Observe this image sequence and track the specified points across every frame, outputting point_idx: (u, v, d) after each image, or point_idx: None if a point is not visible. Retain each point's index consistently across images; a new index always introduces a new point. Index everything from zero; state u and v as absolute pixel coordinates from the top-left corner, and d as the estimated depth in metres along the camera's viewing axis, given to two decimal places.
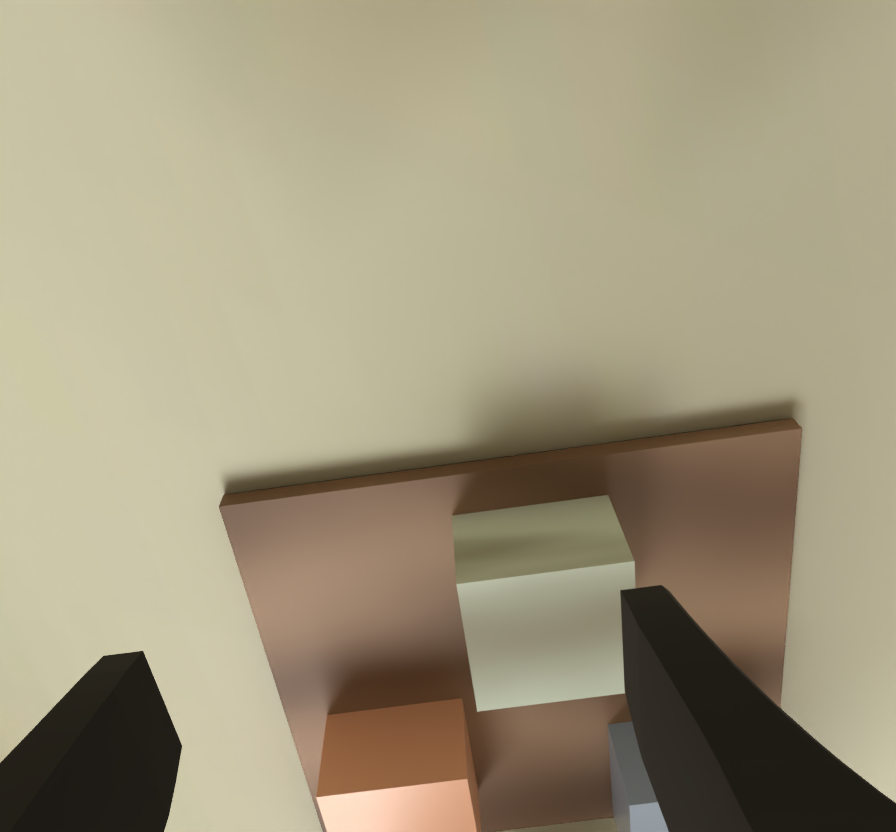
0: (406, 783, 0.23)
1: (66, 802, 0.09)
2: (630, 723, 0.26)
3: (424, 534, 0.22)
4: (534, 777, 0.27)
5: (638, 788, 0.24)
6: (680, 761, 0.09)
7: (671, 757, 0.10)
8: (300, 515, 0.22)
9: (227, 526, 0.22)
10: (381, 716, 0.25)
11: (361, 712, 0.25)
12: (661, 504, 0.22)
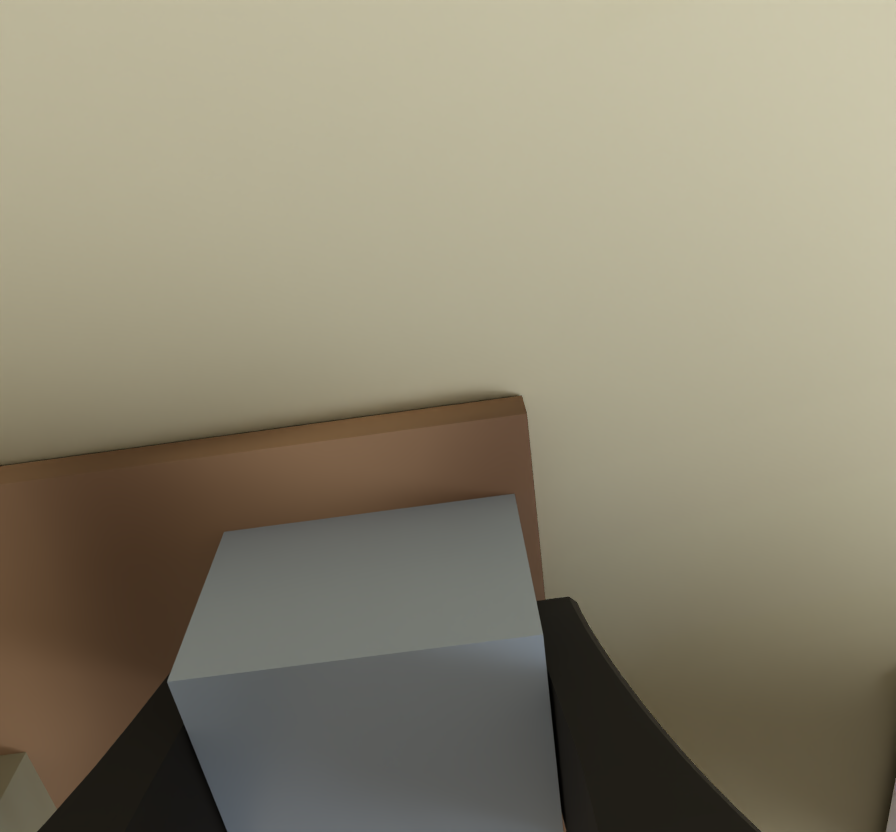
0: None
1: (176, 789, 0.09)
2: None
3: None
4: None
5: None
6: (568, 774, 0.09)
7: (563, 770, 0.10)
8: None
9: None
10: None
11: None
12: None
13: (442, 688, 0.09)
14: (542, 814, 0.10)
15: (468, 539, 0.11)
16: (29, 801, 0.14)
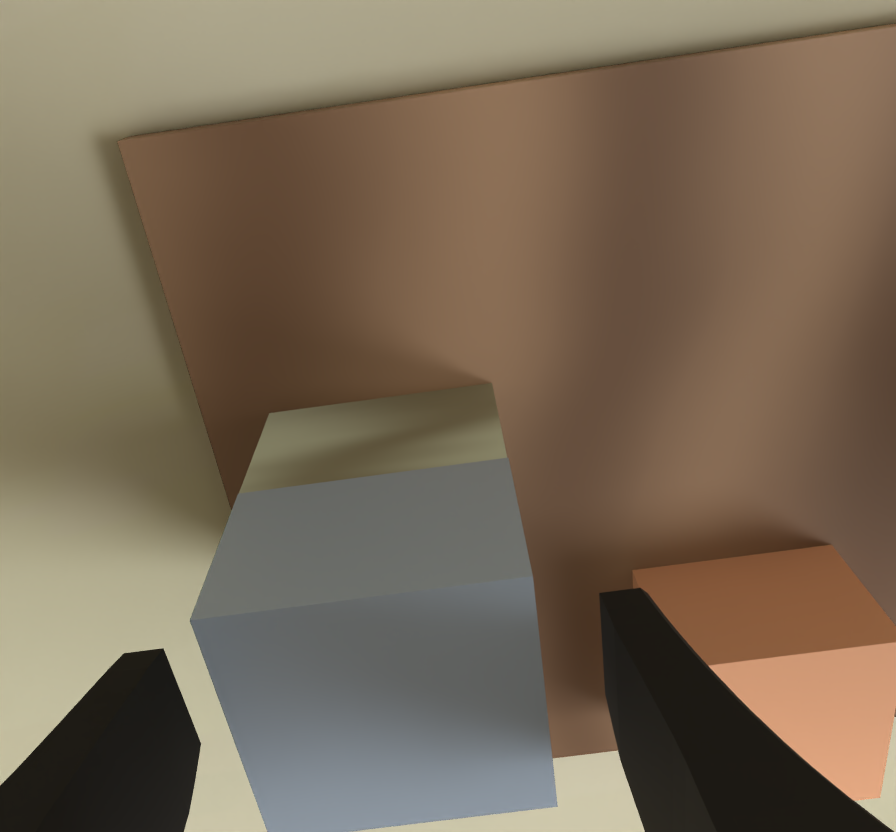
0: None
1: (91, 799, 0.09)
2: None
3: None
4: (826, 469, 0.16)
5: None
6: (655, 764, 0.09)
7: (647, 760, 0.10)
8: None
9: None
10: None
11: None
12: (280, 338, 0.15)
13: (441, 626, 0.10)
14: (533, 749, 0.11)
15: (465, 497, 0.12)
16: None
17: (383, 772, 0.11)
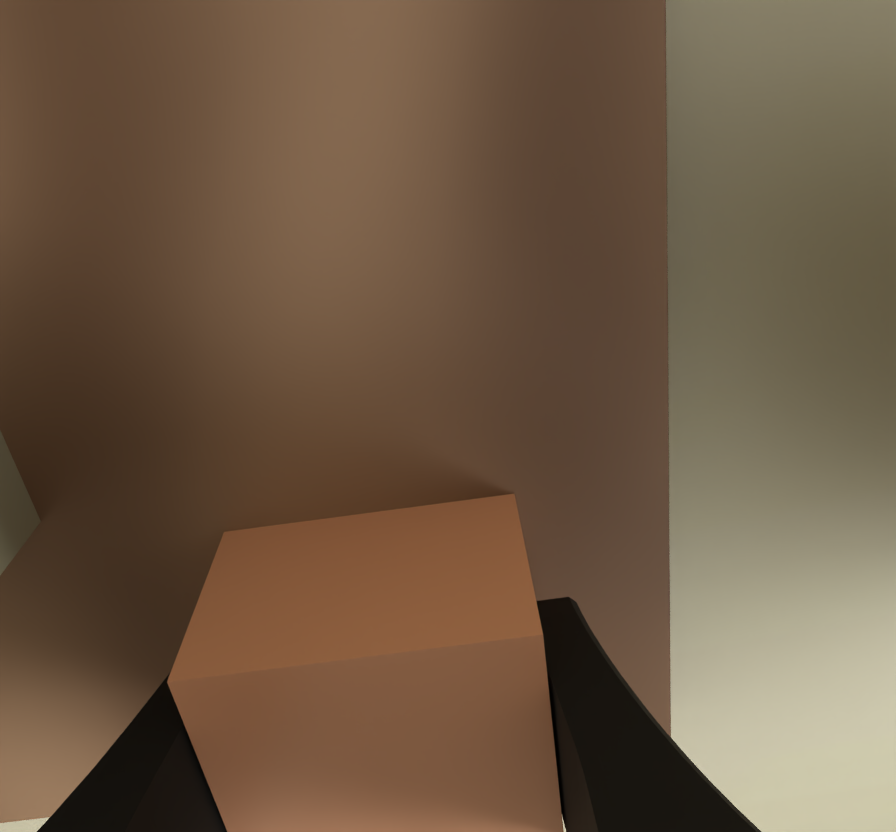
0: (209, 779, 0.10)
1: (176, 788, 0.09)
2: None
3: None
4: (480, 375, 0.11)
5: None
6: (568, 775, 0.09)
7: (563, 770, 0.10)
8: None
9: None
10: None
11: None
12: None
13: None
14: None
15: None
16: None
17: None
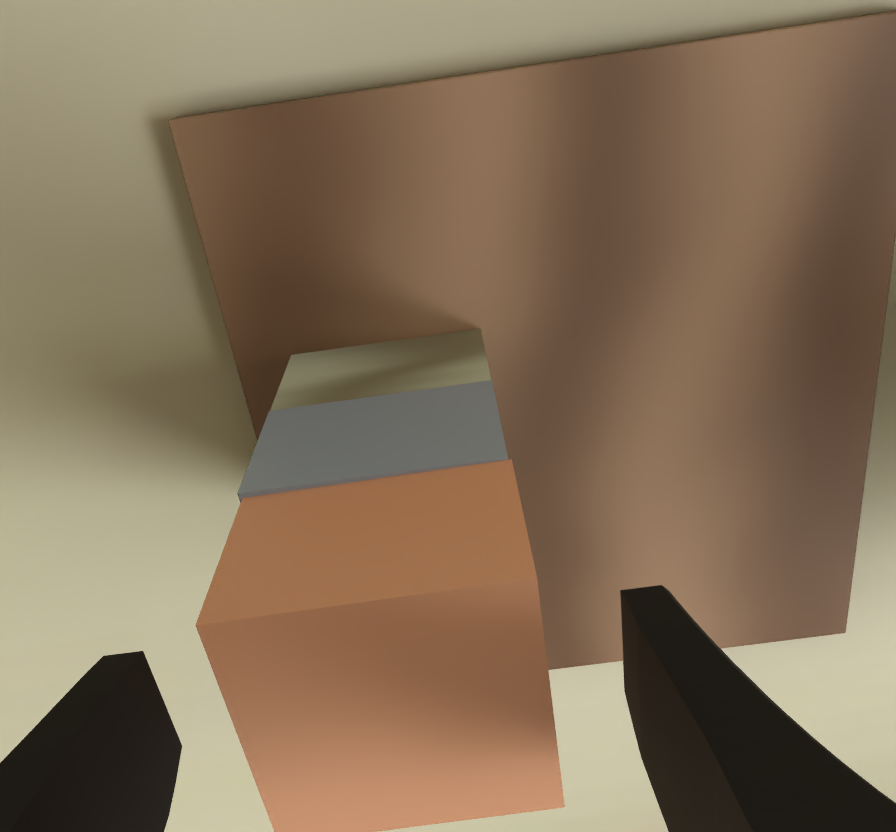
0: (233, 717, 0.11)
1: (66, 802, 0.09)
2: None
3: None
4: (769, 406, 0.19)
5: None
6: (680, 761, 0.09)
7: (671, 757, 0.10)
8: None
9: None
10: None
11: None
12: (301, 289, 0.17)
13: None
14: None
15: (456, 407, 0.14)
16: None
17: None
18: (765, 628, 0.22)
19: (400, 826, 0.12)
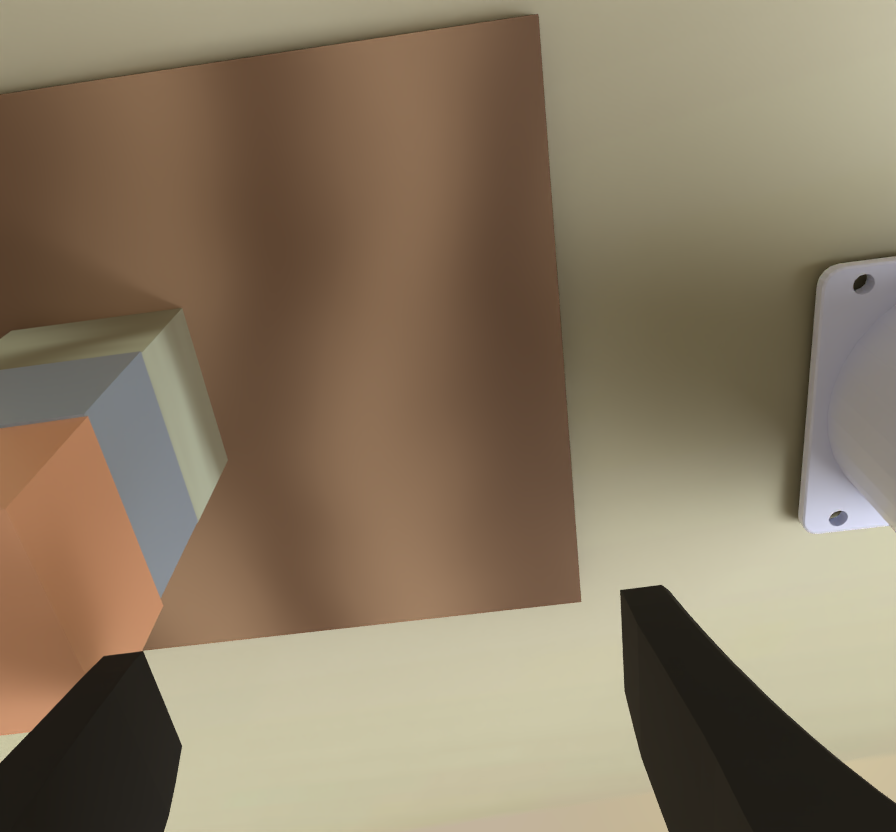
0: None
1: (66, 802, 0.09)
2: None
3: None
4: (465, 383, 0.20)
5: None
6: (680, 761, 0.09)
7: (671, 757, 0.10)
8: None
9: None
10: None
11: None
12: (10, 270, 0.19)
13: None
14: None
15: (88, 374, 0.16)
16: (184, 340, 0.19)
17: None
18: (503, 596, 0.24)
19: None
